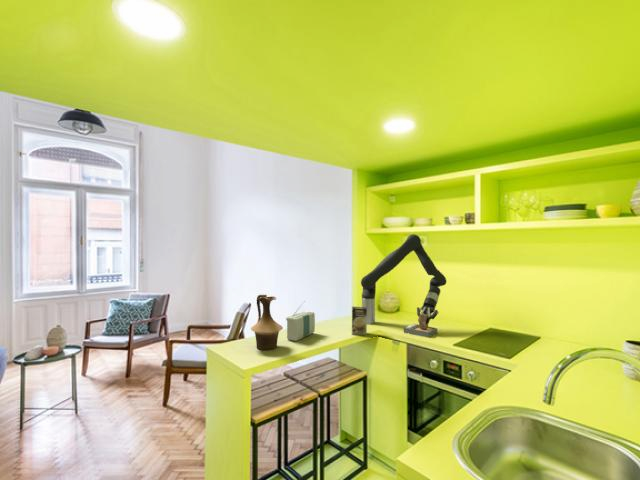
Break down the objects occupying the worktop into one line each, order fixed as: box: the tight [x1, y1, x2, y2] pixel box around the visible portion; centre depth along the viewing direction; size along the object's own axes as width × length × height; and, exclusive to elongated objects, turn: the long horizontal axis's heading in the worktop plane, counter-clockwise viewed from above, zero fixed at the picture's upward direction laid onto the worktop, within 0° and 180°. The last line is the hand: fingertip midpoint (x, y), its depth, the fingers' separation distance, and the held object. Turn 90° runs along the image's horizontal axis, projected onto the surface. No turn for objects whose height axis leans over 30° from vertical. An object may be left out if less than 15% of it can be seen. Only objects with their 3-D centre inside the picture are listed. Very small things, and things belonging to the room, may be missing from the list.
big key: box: [415, 327, 432, 332], centre depth 198 cm, size 9×11×2 cm
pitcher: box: [250, 294, 284, 351], centre depth 171 cm, size 18×17×28 cm
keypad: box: [403, 322, 438, 338], centre depth 199 cm, size 16×13×4 cm
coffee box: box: [351, 306, 368, 336], centre depth 197 cm, size 9×6×16 cm
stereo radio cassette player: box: [285, 300, 316, 342], centre depth 191 cm, size 21×8×20 cm, turn 151°
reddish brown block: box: [418, 313, 429, 330], centre depth 198 cm, size 4×4×9 cm
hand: (423, 322), depth 197 cm, fingers closed on reddish brown block, 3 cm apart
